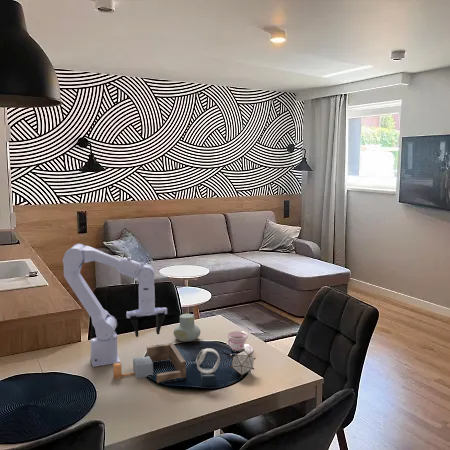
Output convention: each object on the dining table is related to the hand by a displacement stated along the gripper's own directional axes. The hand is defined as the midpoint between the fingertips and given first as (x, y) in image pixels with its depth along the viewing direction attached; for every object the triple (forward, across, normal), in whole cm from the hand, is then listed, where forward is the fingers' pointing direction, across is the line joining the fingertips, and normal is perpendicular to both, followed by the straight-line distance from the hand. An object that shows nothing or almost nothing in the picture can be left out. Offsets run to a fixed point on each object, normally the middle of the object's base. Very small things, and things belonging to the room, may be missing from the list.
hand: (147, 334), depth 171 cm
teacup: (+10, +34, -3) cm, 36 cm away
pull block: (+9, -7, -11) cm, 16 cm away
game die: (+10, +28, -23) cm, 37 cm away
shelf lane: (+9, +4, -11) cm, 15 cm away
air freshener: (+10, +19, +14) cm, 26 cm away
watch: (+10, +15, -24) cm, 30 cm away
